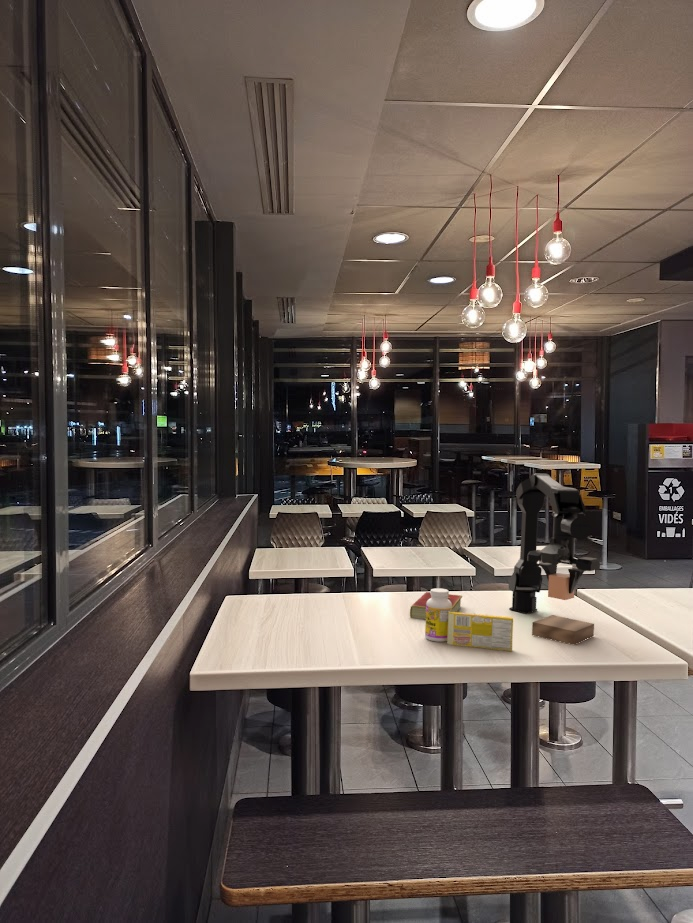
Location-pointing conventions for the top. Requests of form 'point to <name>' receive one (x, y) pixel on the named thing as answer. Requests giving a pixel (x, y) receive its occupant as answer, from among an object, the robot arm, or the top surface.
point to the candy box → (480, 631)
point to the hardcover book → (420, 605)
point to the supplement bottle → (437, 615)
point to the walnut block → (563, 629)
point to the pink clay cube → (559, 586)
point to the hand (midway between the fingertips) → (561, 591)
